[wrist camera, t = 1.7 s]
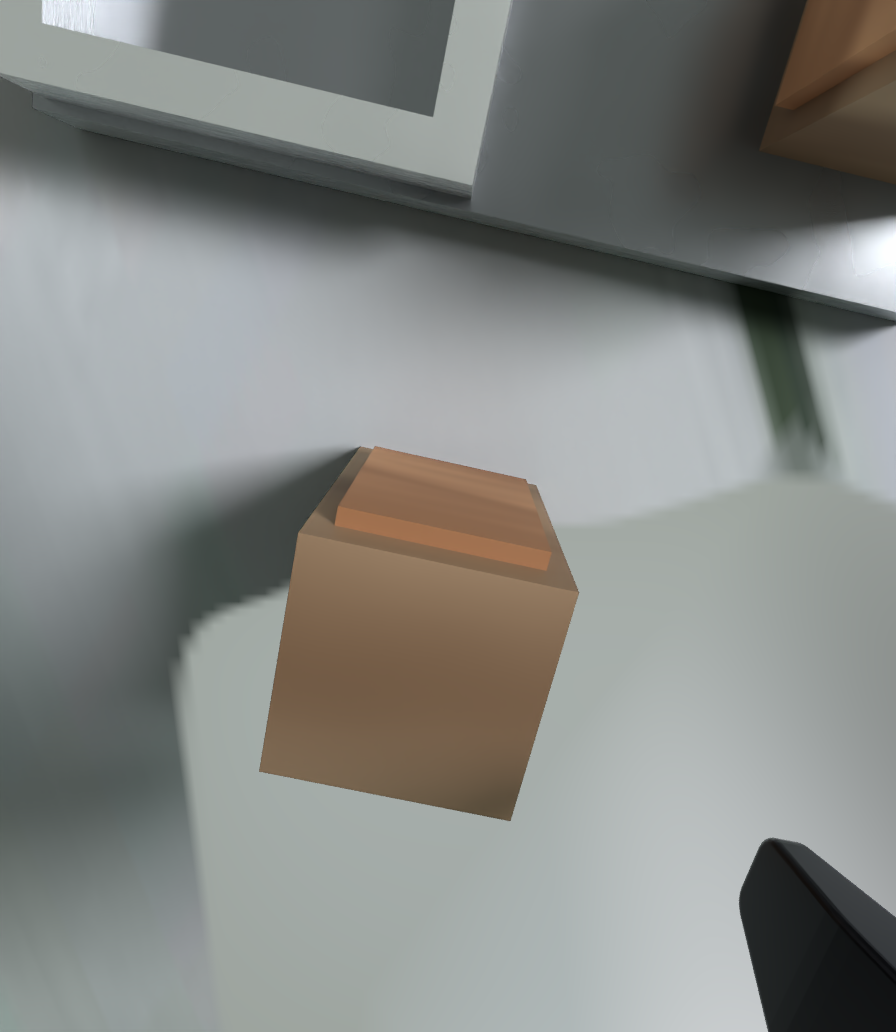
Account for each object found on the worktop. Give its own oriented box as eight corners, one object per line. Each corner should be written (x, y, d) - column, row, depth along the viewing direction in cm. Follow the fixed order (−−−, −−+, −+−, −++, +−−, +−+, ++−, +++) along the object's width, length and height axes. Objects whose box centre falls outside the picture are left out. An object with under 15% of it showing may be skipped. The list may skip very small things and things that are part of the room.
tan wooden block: (493, 642, 17) (510, 821, 11) (330, 607, 16) (259, 771, 11) (539, 472, 15) (584, 572, 10) (362, 433, 15) (300, 512, 9)
